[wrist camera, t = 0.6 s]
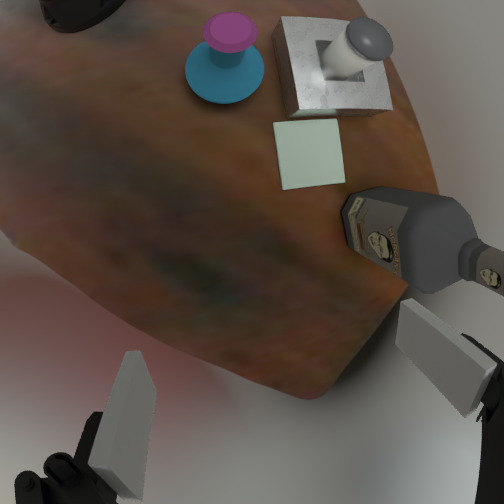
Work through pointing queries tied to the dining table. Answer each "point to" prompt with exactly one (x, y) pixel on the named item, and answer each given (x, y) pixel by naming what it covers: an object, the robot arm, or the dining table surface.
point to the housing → (310, 74)
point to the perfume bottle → (226, 60)
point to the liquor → (421, 239)
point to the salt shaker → (355, 49)
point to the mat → (308, 153)
